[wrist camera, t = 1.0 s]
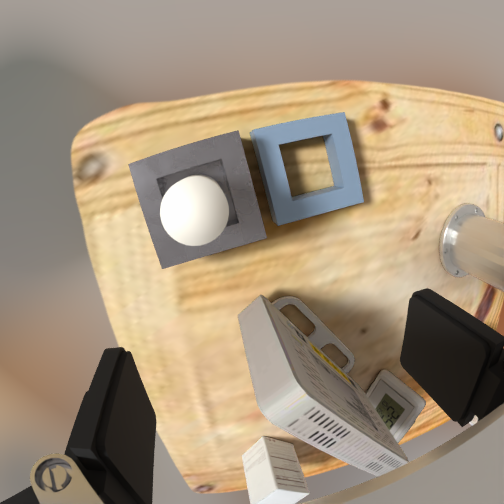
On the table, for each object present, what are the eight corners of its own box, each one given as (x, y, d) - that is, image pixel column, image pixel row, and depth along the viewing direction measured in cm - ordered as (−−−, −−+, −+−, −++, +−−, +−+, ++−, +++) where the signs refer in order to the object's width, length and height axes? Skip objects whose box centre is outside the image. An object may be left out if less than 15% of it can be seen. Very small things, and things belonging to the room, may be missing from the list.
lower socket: (334, 115, 34) (344, 112, 32) (353, 199, 38) (363, 201, 35) (249, 132, 34) (253, 129, 31) (272, 221, 37) (278, 225, 34)
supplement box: (271, 462, 50) (283, 511, 38) (240, 454, 48) (249, 507, 36) (294, 443, 49) (311, 493, 37) (263, 434, 47) (276, 489, 35)
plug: (215, 168, 31) (218, 168, 21) (228, 213, 32) (236, 234, 22) (168, 182, 30) (151, 189, 21) (182, 227, 32) (172, 254, 22)
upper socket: (233, 136, 34) (238, 130, 27) (256, 225, 37) (266, 238, 31) (142, 164, 33) (128, 164, 27) (169, 251, 36) (162, 269, 30)
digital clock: (382, 362, 47) (413, 400, 36) (411, 373, 49) (440, 406, 39) (328, 426, 49) (347, 467, 39) (360, 431, 52) (380, 467, 42)
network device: (222, 315, 40) (238, 430, 21) (272, 270, 39) (328, 364, 20) (328, 401, 47) (374, 489, 28) (368, 369, 46) (428, 451, 27)
